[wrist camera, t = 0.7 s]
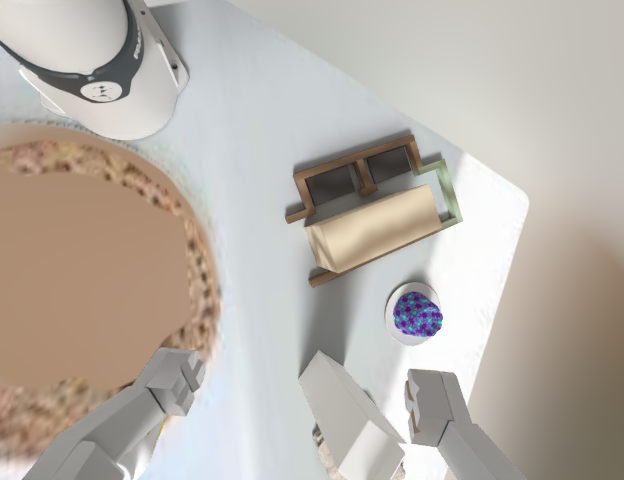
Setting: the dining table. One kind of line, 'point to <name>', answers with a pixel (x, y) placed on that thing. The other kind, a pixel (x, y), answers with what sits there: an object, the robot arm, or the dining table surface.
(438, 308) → the pudding
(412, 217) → the beige rectangular block
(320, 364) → the milk
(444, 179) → the frame
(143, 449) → the supplement bottle
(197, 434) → the dining table surface
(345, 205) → the dining table surface
